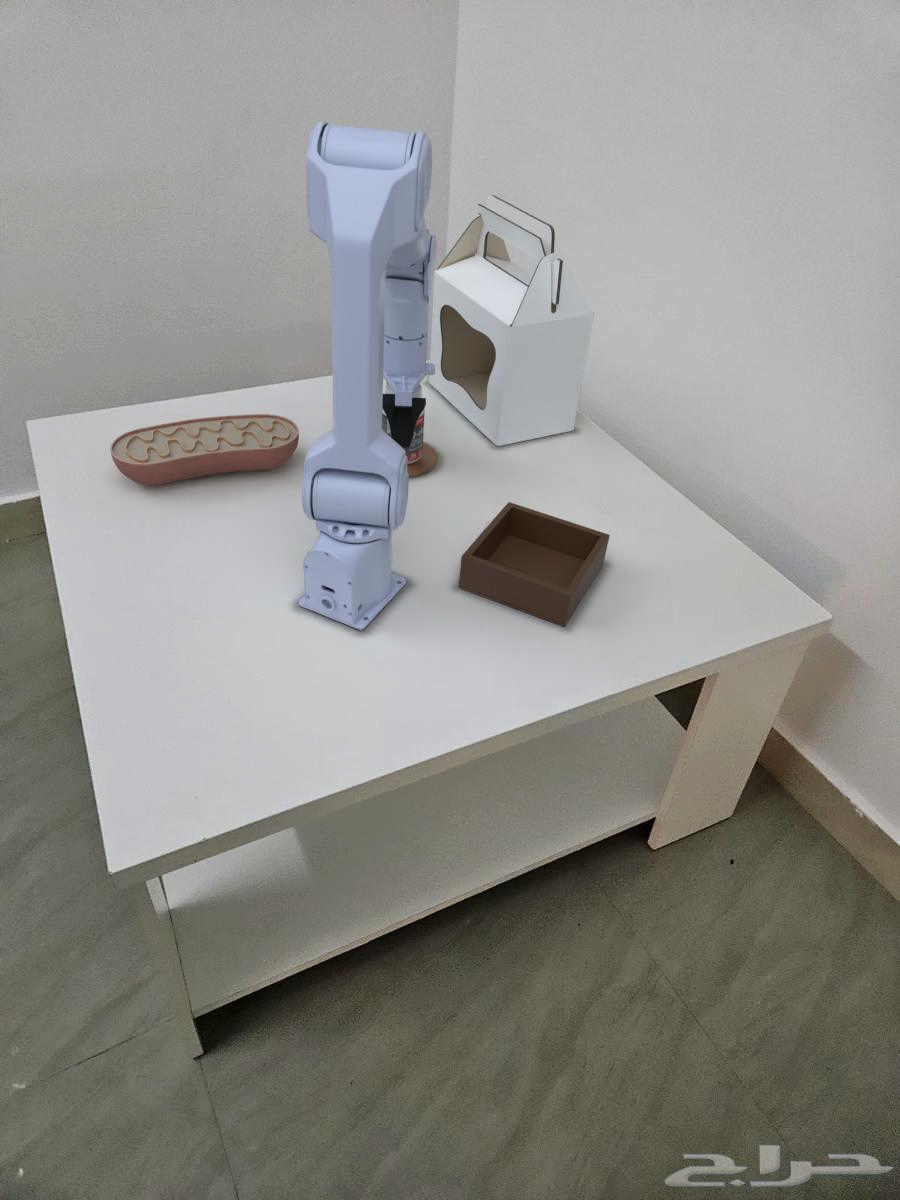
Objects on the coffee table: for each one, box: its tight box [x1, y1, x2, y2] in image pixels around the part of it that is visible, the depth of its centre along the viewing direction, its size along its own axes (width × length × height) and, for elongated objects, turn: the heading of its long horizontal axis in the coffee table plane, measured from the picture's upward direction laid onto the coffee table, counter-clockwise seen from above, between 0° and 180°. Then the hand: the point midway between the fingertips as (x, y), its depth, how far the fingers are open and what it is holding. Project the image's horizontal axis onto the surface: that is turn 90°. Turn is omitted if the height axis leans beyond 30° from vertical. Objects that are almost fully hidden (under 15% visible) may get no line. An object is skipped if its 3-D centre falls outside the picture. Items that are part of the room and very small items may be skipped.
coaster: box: [407, 441, 438, 479], centre depth 111 cm, size 10×10×1 cm
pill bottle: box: [382, 383, 425, 464], centre depth 107 cm, size 6×6×10 cm
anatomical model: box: [109, 413, 300, 486], centre depth 104 cm, size 23×10×5 cm, turn 112°
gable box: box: [428, 194, 595, 447], centre depth 116 cm, size 22×13×28 cm, turn 27°
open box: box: [458, 501, 611, 628], centre depth 91 cm, size 13×13×4 cm
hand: (401, 431), depth 108 cm, fingers open, 7 cm apart
